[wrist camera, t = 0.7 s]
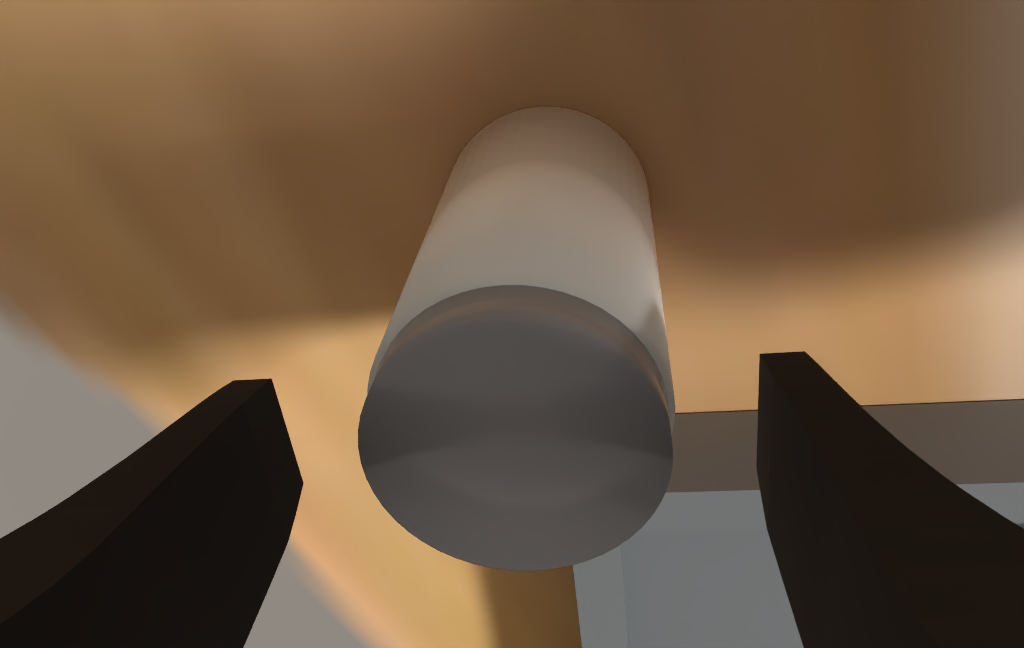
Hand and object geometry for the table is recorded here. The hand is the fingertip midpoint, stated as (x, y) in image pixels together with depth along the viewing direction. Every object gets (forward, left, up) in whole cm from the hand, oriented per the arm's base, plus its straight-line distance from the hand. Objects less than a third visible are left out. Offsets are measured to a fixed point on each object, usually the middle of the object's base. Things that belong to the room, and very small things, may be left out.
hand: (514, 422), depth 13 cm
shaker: (0, 0, -8) cm, 8 cm away
